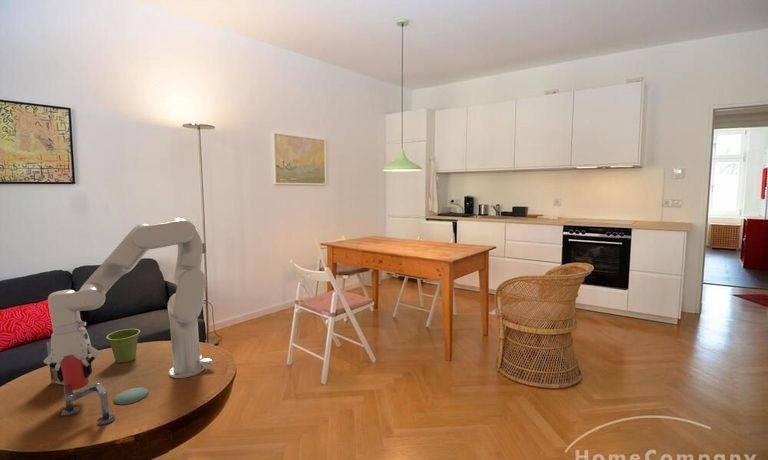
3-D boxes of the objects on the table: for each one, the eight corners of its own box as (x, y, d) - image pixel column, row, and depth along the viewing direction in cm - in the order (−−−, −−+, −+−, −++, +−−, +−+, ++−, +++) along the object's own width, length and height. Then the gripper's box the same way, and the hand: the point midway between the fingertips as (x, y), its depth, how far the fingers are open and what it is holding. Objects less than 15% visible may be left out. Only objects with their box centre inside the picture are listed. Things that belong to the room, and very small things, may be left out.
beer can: (76, 392, 131) (70, 358, 130) (59, 391, 132) (53, 357, 131) (94, 382, 138) (88, 349, 136) (78, 380, 139) (73, 348, 137)
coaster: (151, 387, 143) (151, 385, 143) (143, 401, 134) (143, 399, 134) (120, 391, 140) (120, 390, 140) (109, 406, 131) (109, 404, 131)
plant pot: (101, 365, 162) (98, 338, 161) (124, 353, 174) (122, 328, 172) (127, 366, 160) (125, 339, 159) (148, 354, 172) (146, 329, 171)
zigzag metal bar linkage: (126, 401, 134) (124, 374, 133) (111, 423, 121) (109, 394, 120) (65, 410, 129) (62, 382, 128) (43, 434, 116) (40, 404, 115)
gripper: (101, 319, 138) (109, 368, 141) (42, 327, 133) (51, 377, 136) (93, 327, 131) (101, 378, 133) (29, 335, 126) (39, 388, 129)
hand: (75, 377), depth 135 cm, fingers closed on beer can, 6 cm apart
